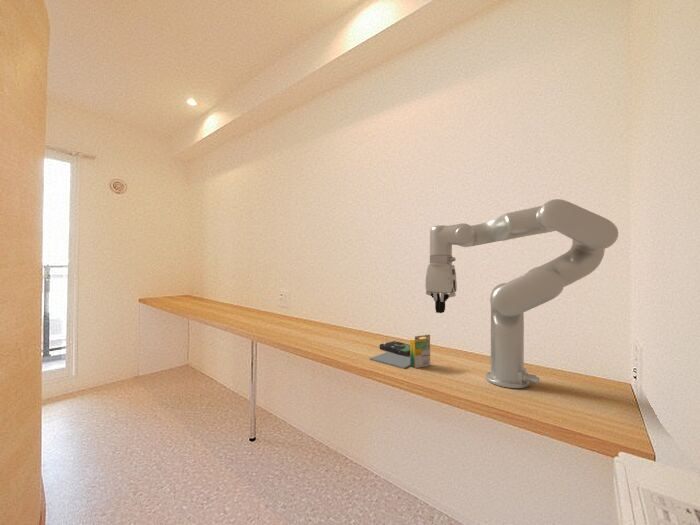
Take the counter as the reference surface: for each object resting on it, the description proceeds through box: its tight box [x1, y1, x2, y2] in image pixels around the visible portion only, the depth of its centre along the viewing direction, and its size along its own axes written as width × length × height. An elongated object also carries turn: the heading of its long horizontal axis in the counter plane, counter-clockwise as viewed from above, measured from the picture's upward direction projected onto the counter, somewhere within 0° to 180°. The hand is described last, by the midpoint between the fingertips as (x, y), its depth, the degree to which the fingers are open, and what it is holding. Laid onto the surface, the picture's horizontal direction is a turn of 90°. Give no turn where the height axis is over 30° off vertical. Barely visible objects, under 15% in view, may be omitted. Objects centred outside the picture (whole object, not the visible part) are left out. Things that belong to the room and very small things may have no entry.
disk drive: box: [379, 340, 410, 357], centre depth 134 cm, size 10×3×15 cm
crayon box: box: [409, 334, 431, 369], centre depth 113 cm, size 7×3×12 cm, turn 117°
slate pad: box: [369, 351, 411, 370], centre depth 120 cm, size 16×12×1 cm
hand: (440, 312), depth 108 cm, fingers closed
